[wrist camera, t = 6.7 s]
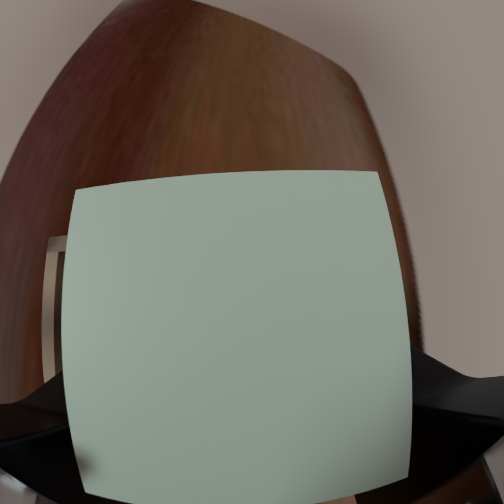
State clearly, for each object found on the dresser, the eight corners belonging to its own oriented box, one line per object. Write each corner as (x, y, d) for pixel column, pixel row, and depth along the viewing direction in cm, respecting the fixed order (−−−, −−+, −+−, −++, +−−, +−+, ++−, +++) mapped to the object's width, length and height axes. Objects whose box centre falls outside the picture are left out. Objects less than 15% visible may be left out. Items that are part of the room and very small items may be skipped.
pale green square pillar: (283, 376, 14) (407, 476, 2) (204, 381, 14) (85, 492, 2) (277, 299, 16) (377, 172, 4) (199, 304, 15) (76, 190, 3)
